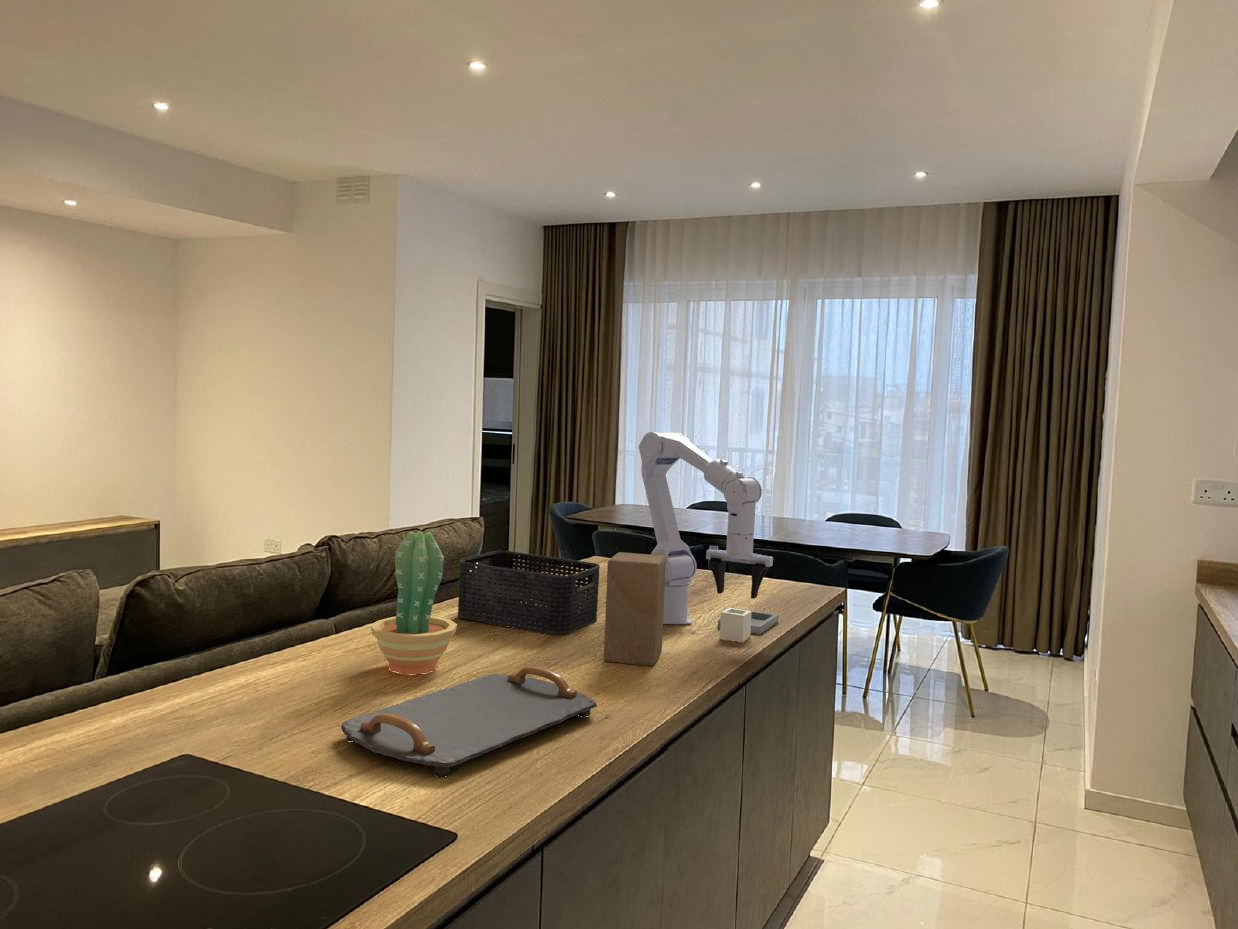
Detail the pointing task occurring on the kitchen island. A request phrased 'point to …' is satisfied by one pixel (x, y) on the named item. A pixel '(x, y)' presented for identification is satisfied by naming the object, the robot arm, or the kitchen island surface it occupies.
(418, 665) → the potted cactus
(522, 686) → the serving board
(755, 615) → the tray
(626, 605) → the wooden block
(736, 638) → the cream block
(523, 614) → the storage bin
